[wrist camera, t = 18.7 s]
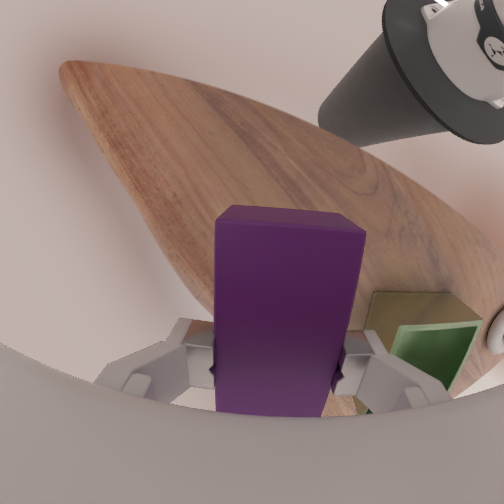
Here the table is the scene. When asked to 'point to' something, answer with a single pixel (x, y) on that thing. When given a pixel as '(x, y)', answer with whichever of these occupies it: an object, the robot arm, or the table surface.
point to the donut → (496, 335)
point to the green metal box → (424, 332)
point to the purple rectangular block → (281, 307)
